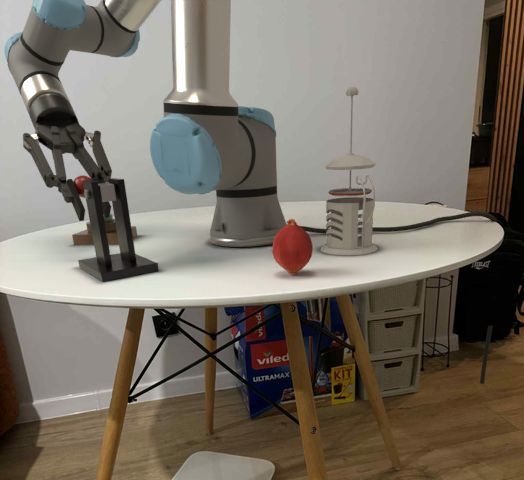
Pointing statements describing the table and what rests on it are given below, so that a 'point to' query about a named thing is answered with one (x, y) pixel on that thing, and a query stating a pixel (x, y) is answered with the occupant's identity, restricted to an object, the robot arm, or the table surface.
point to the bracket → (126, 260)
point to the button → (108, 219)
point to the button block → (87, 238)
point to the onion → (292, 247)
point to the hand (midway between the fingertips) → (95, 213)
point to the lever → (104, 188)
